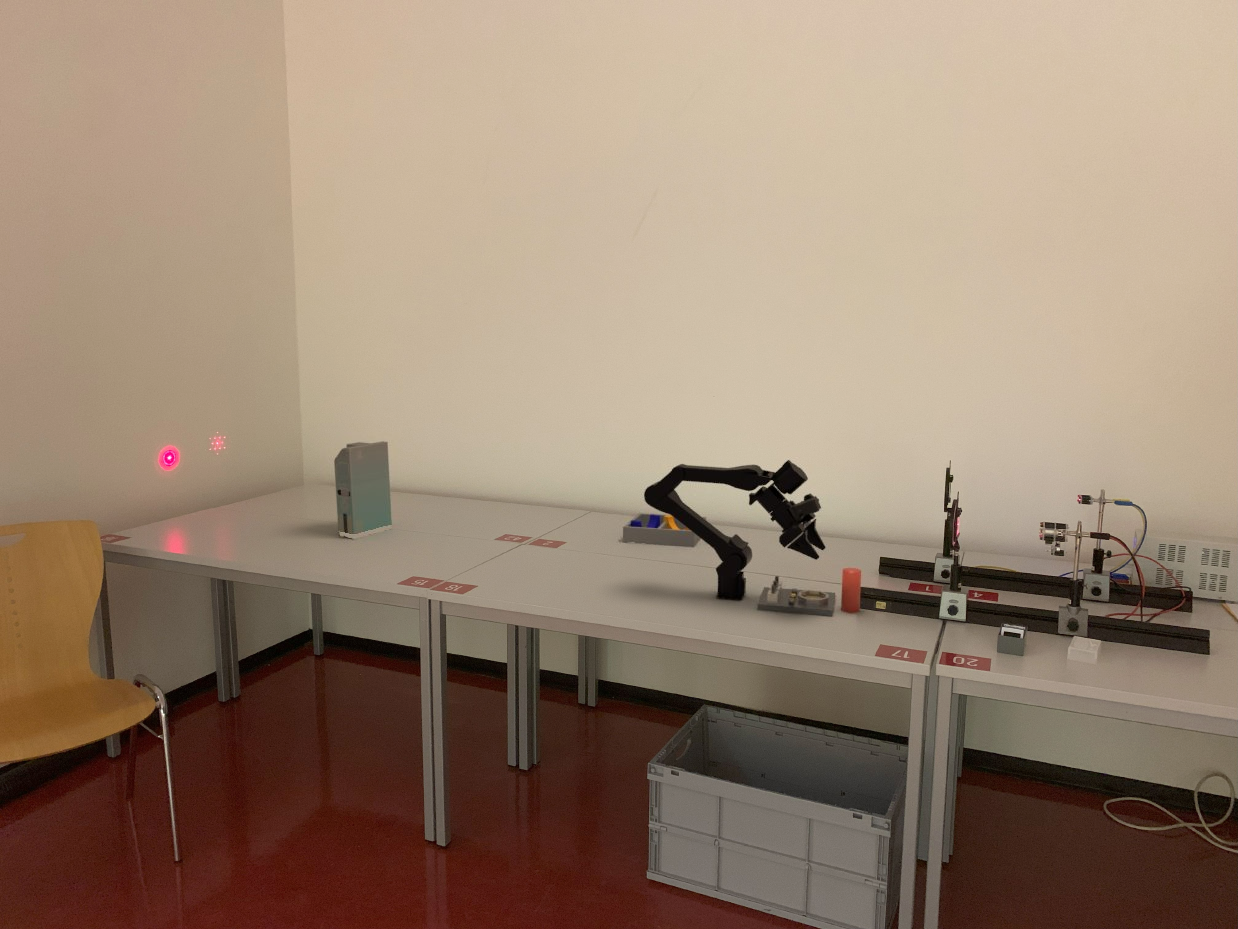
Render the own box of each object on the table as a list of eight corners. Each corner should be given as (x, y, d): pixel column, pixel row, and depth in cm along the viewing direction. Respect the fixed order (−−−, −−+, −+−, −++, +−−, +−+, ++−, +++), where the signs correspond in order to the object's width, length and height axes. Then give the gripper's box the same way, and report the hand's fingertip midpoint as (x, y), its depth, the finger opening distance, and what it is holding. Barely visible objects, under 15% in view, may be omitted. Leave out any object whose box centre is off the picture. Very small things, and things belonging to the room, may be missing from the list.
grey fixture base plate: (757, 609, 219) (757, 588, 218) (764, 592, 232) (764, 572, 231) (832, 616, 214) (833, 594, 213) (835, 598, 227) (835, 577, 226)
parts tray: (623, 542, 284) (623, 526, 283) (639, 527, 303) (639, 513, 302) (694, 547, 277) (694, 531, 277) (706, 531, 296) (706, 517, 296)
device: (376, 526, 307) (371, 440, 302) (392, 529, 303) (388, 441, 298) (338, 536, 293) (332, 446, 288) (354, 539, 289) (349, 448, 284)
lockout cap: (840, 611, 217) (842, 572, 216) (841, 606, 221) (842, 567, 220) (859, 613, 216) (861, 573, 214) (859, 607, 220) (861, 568, 219)
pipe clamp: (700, 540, 286) (701, 520, 285) (692, 542, 283) (692, 522, 282) (671, 533, 294) (672, 514, 293) (663, 535, 291) (663, 516, 290)
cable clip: (642, 540, 286) (641, 522, 285) (630, 538, 289) (630, 520, 288) (663, 533, 295) (663, 515, 294) (652, 531, 298) (652, 514, 297)
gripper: (794, 492, 210) (840, 542, 208) (808, 478, 227) (851, 524, 225) (760, 522, 214) (805, 571, 212) (776, 506, 231) (818, 552, 229)
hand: (821, 553), depth 219 cm, fingers open, 9 cm apart
